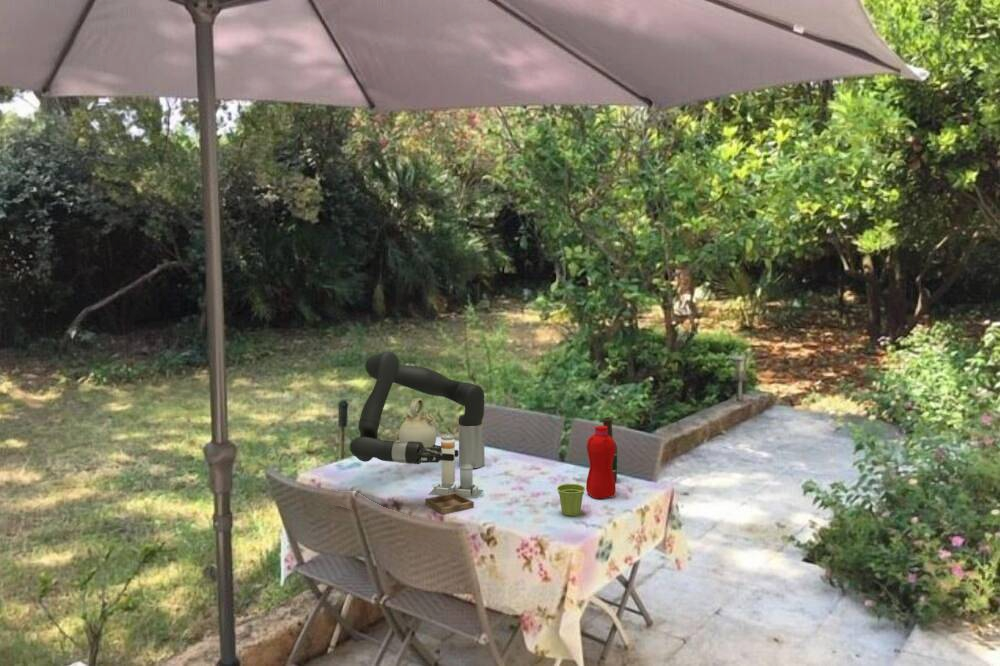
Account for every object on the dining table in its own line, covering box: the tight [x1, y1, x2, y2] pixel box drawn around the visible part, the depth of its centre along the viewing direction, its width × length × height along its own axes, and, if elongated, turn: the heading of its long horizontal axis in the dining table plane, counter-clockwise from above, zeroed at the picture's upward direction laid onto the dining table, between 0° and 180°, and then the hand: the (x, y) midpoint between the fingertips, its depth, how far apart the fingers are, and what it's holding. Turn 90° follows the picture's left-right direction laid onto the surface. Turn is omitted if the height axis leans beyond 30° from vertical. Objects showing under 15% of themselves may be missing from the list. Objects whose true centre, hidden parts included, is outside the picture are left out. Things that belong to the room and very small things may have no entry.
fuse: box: [459, 464, 474, 494], centre depth 289 cm, size 4×4×10 cm
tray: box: [424, 492, 475, 516], centre depth 276 cm, size 12×12×3 cm
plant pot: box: [556, 483, 586, 517], centre depth 270 cm, size 9×9×9 cm
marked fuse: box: [440, 433, 456, 484], centre depth 274 cm, size 5×5×16 cm
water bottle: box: [585, 425, 617, 500], centre depth 287 cm, size 9×11×25 cm
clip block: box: [427, 482, 484, 499], centre depth 290 cm, size 18×9×3 cm, turn 76°
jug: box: [398, 397, 437, 448], centre depth 336 cm, size 15×16×25 cm
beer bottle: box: [602, 416, 618, 483], centre depth 302 cm, size 8×8×24 cm
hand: (455, 455), depth 273 cm, fingers closed on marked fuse, 4 cm apart
